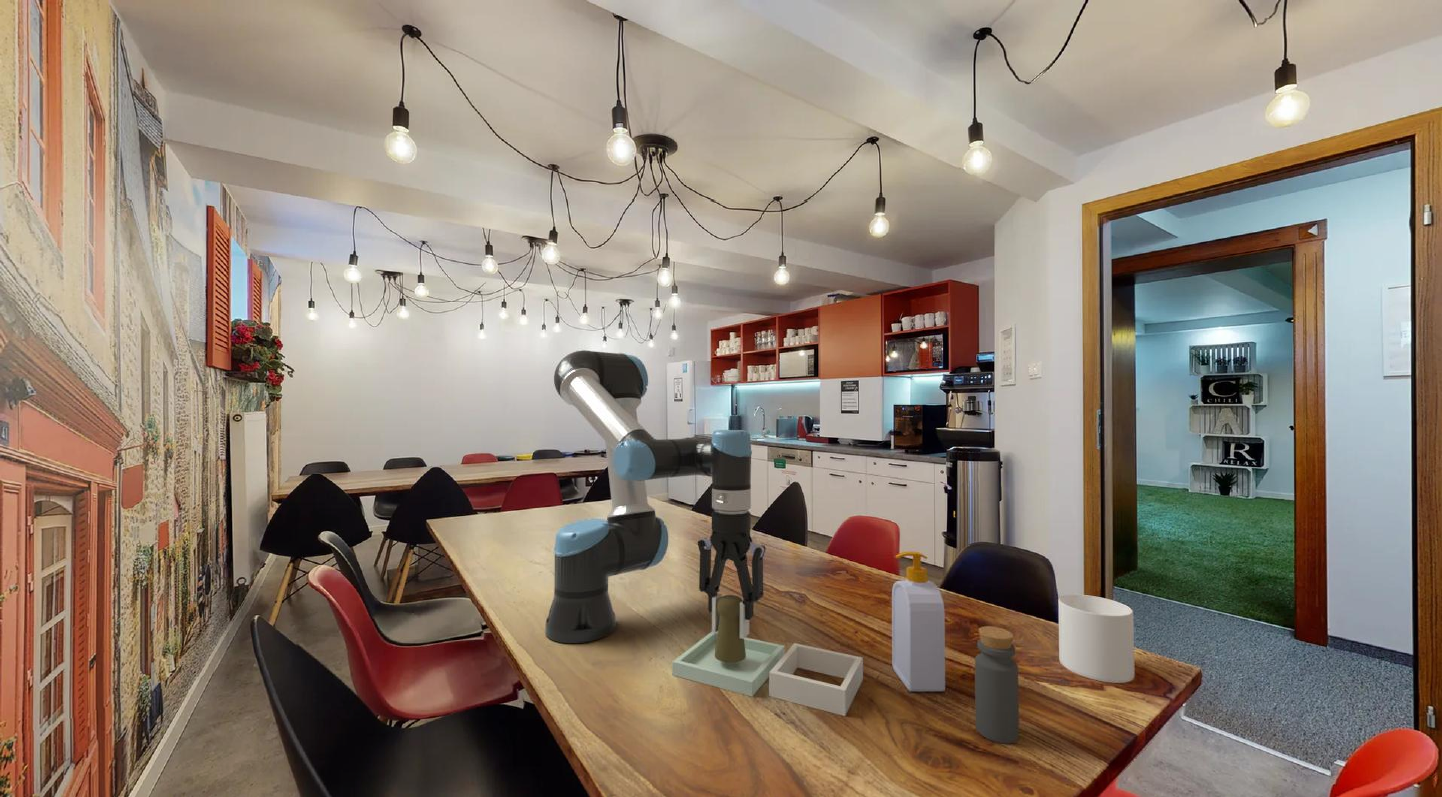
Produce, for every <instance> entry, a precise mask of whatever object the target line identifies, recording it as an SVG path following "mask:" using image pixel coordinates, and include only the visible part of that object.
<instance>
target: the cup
mask: <svg viewBox="0 0 1442 797" xmlns="http://www.w3.org/2000/svg"><path fill="white" fill-rule="evenodd" d="M1134 626H1135V624H1134V611H1133V610H1132V608H1130V607H1129V606H1127V605H1125V604H1123V603H1121V602H1119V601H1116V600H1113V599H1109V598H1104V597H1100V596H1095V595H1087V594H1074V593H1072V594H1064V595H1062V596H1060V597H1059V598H1058V653H1059V654H1058V656H1059V663H1060V664H1061V665H1062V666H1063V667H1064V668H1066V669H1067V670H1068V671H1070V672H1073V673H1074V674H1076V675H1079V676H1081V677H1083V678H1087V679H1091V680H1094V681H1099V682H1102V683H1103V682H1104V683H1108V684H1109V683H1111V684H1124V683H1129V682H1132V681H1133V680H1134V679H1135V633H1134V630H1135V628H1134Z"/></svg>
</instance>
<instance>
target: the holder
mask: <svg viewBox="0 0 1442 797" xmlns="http://www.w3.org/2000/svg"><path fill="white" fill-rule="evenodd" d="M863 664H864V658H863V656H856V655H852V654H848V653H842V652H839V651H832V650H829V649H823V648H820V647H815V646H809V645H805V644H799V643H793V644H792V645H791V646H790V647H789V649H788V650H787V651H786V652H785V655H784V656H783V657H782V658H781V659H780V660H779V661H778V663H777V664H776V665H775V666H774V667H773V668H772V670H771V671H770V672H769V677H768V679H769V680H768V697H771V698H774V699H778V700H782V701H786V702H791V703H794V704H798V705H802V706H805V707H809V708H812V709H816V710H821V711H825V712H828V713H832V714H835V715H840V716H843V717H846V716H847V713H848V711H849V709H850V707H851V706H852V703H853V701H854V699H855V697H856V694H857V693H858V690H859V688H860V686H861V685H862V682H863V680H864V678H863V677H864V674H863V672H864V665H863ZM798 668H799V669H802V670H806V671H811V672H815V673H820V674H823V675H827V676H832V677H837V678H841V679H843V681H842V683H841V685H840V686H839V685H836V684H832V683H828V682H823V681H820V680H817V679H812V678H808V677H802V676H799V675H794V673H795V672H796V670H797V669H798Z"/></svg>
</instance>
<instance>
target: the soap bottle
mask: <svg viewBox="0 0 1442 797" xmlns="http://www.w3.org/2000/svg"><path fill="white" fill-rule="evenodd" d="M911 556H912V566H907V567H906V580H897V581H895V582H894V583H893V585H892V590H891V591H892V592H891V652H892V653H891V661H892V662H891V664H892V666H891V667H892V670H893V671H894V672H895V674H896V675H897V676H898V677H899V680H900V681H901V682H902V684H903V685H904V686H905V687H906V688H907V690H908V691H909V692H945V689H946V644H945V643H946V640H945V638H946V636H945V635H946V627H945V626H946V625H945V621H946V620H945V619H946V618H945V616H946V615H945V604H944V603H945V602H944V600H943V597H942V593H941V591H940V590H939V588H938V587H939V586H937V585H936V583H934V581H931V580H928V569H927V568H925V567H923V566H921V564H922V562H921V561H922V560H921V558H923V559H925V560H928V557H927V556H926V555H924V554H922V553H921V552H918V551H915V550H913V551H912V550H911V551H902V552H900V553H898V554H896V555H895V558H896V559H900V558H904V557H911Z"/></svg>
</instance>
